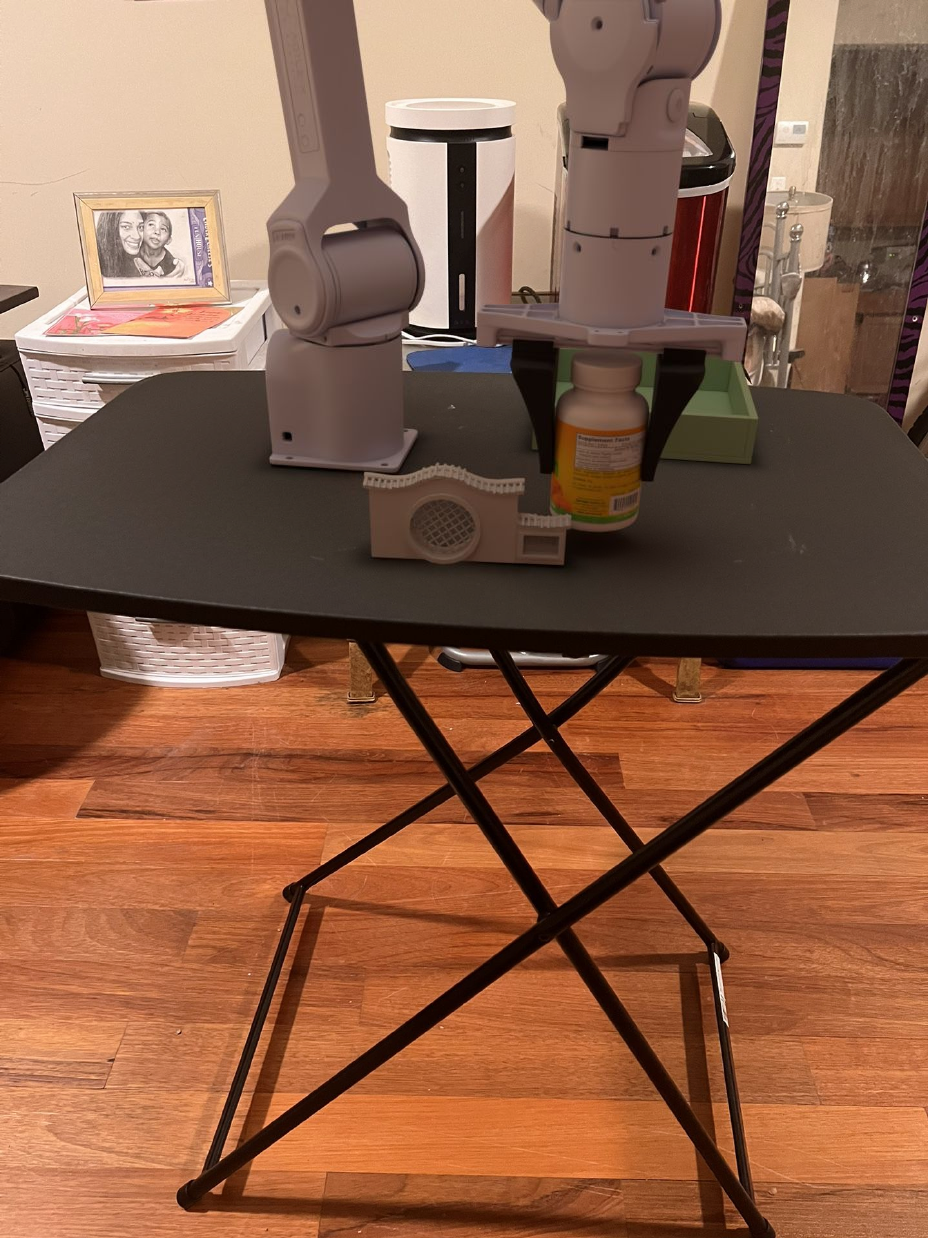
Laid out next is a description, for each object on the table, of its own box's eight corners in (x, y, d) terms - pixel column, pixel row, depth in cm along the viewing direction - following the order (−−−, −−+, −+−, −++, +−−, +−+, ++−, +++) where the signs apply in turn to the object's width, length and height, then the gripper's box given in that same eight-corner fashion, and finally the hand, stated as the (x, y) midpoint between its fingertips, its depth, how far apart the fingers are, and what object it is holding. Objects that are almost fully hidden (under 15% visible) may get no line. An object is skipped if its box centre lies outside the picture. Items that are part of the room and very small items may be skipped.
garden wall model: (567, 556, 59) (574, 464, 56) (568, 570, 57) (575, 476, 54) (370, 548, 59) (366, 456, 56) (365, 561, 58) (361, 468, 55)
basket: (531, 449, 74) (533, 404, 72) (548, 384, 87) (551, 345, 85) (750, 464, 72) (758, 418, 70) (733, 395, 85) (739, 355, 83)
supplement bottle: (554, 493, 62) (564, 341, 57) (639, 501, 61) (657, 347, 56) (543, 529, 58) (553, 367, 53) (635, 538, 57) (654, 374, 52)
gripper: (470, 236, 48) (465, 488, 55) (768, 249, 47) (725, 508, 54) (488, 214, 54) (482, 444, 61) (754, 225, 53) (716, 461, 60)
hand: (596, 471), depth 58 cm, fingers closed on supplement bottle, 5 cm apart
